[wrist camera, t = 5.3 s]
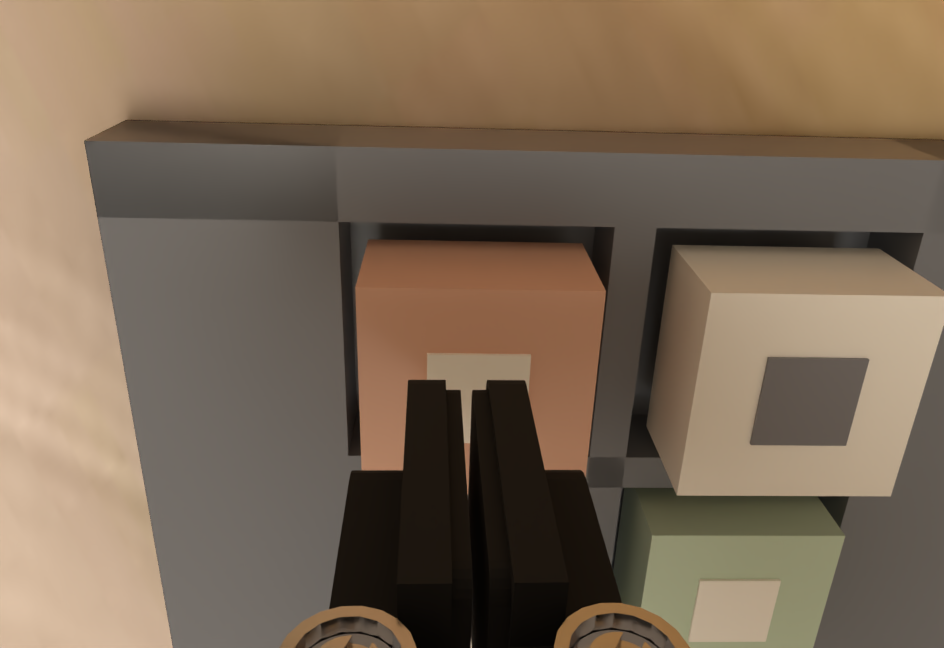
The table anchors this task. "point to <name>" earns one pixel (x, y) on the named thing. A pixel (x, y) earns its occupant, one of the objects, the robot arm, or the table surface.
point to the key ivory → (790, 369)
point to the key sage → (728, 565)
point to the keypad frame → (457, 219)
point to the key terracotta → (478, 337)
